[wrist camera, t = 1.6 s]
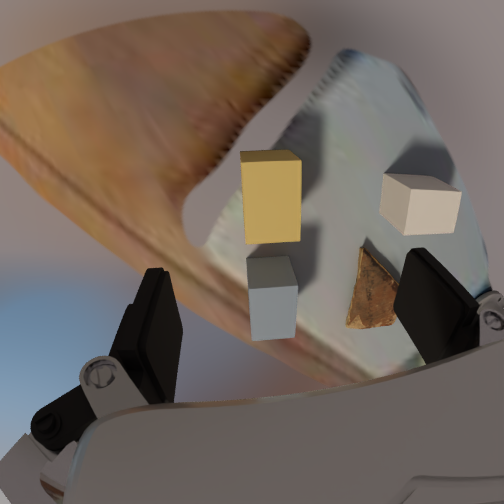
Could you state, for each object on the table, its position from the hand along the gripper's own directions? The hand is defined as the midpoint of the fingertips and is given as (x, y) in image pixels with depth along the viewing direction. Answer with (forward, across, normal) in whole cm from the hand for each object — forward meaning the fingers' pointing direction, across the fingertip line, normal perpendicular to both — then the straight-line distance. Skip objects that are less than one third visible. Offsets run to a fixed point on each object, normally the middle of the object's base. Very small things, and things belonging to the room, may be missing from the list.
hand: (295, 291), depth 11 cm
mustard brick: (+15, -1, 0) cm, 15 cm away
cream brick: (+15, -15, +1) cm, 21 cm away
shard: (+16, -12, +13) cm, 24 cm away
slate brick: (+15, -1, +10) cm, 18 cm away
